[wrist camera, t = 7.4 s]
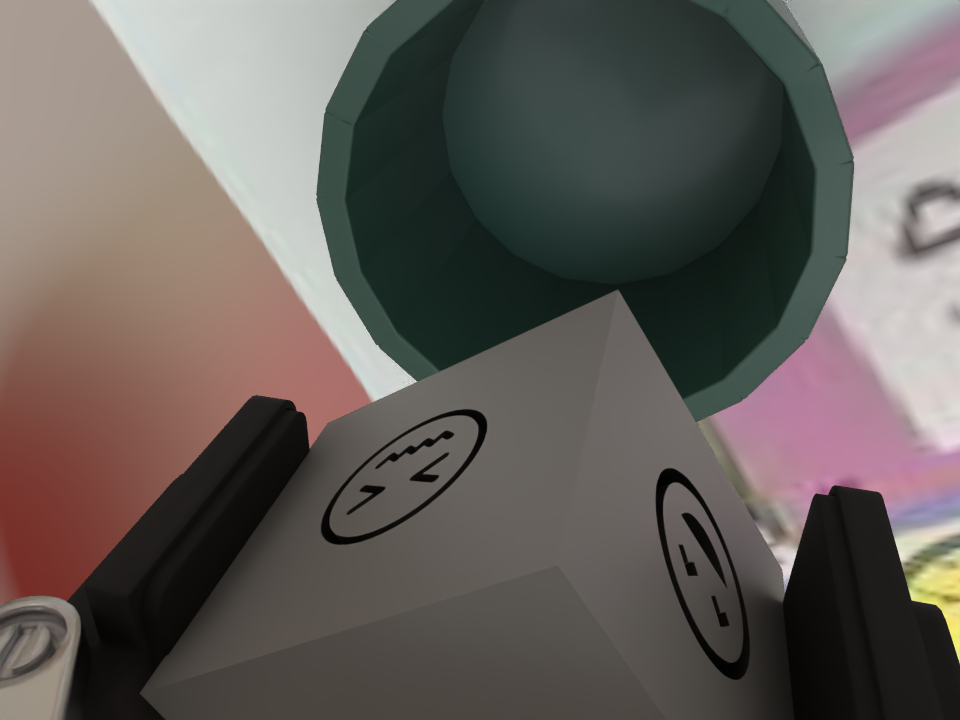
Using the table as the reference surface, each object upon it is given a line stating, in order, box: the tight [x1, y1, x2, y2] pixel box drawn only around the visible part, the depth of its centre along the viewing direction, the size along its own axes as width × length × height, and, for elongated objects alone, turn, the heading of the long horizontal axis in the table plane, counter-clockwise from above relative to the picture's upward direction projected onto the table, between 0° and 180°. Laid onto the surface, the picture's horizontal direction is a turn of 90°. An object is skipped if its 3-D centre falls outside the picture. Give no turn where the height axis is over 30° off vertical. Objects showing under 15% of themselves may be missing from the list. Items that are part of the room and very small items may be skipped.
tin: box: [316, 0, 854, 422], centre depth 24 cm, size 13×13×10 cm
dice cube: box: [140, 290, 794, 720], centre depth 10 cm, size 5×5×5 cm
